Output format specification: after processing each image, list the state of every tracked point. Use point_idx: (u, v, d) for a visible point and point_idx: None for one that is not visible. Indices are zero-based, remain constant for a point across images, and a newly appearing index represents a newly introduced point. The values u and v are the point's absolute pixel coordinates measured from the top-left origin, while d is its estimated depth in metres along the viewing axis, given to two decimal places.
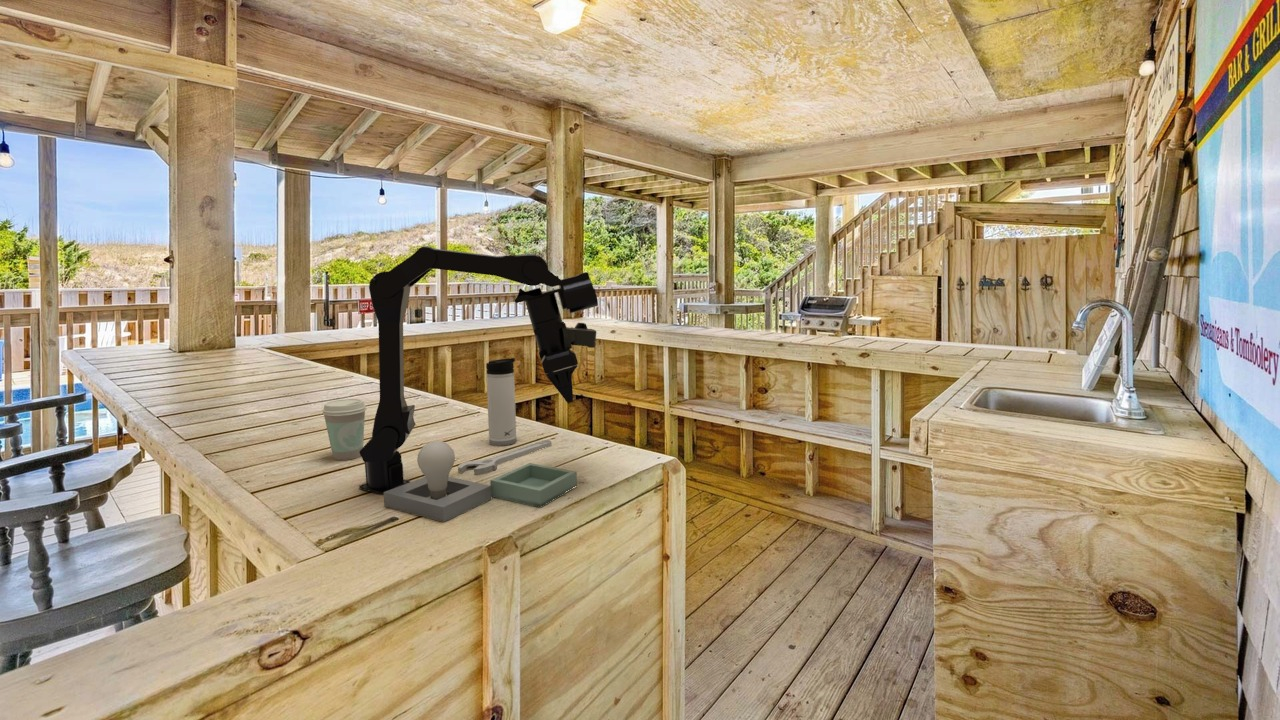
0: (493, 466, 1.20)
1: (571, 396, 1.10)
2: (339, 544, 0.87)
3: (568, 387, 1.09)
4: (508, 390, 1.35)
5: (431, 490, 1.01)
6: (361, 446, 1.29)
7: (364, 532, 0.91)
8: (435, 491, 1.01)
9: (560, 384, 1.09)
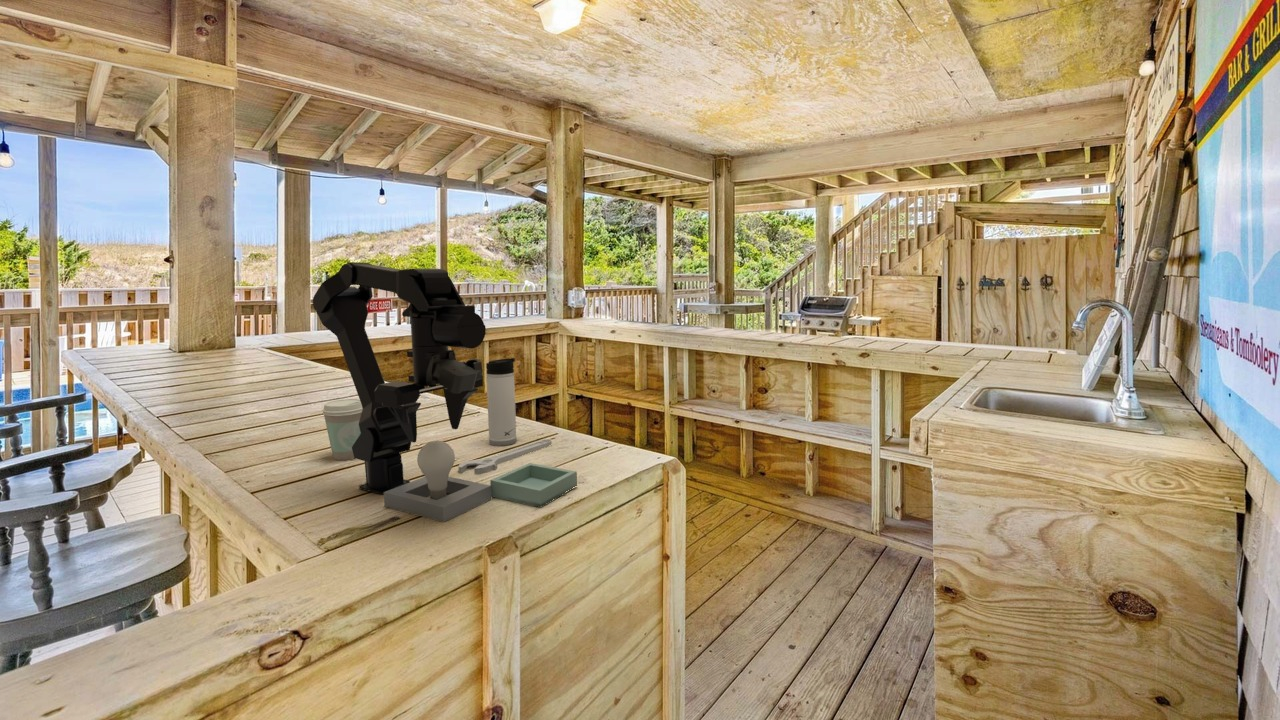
0: (493, 465, 1.20)
1: (412, 436, 0.96)
2: (341, 543, 0.87)
3: (408, 425, 0.96)
4: (508, 390, 1.35)
5: (431, 490, 1.01)
6: None
7: (366, 531, 0.91)
8: (435, 491, 1.01)
9: (401, 419, 0.96)
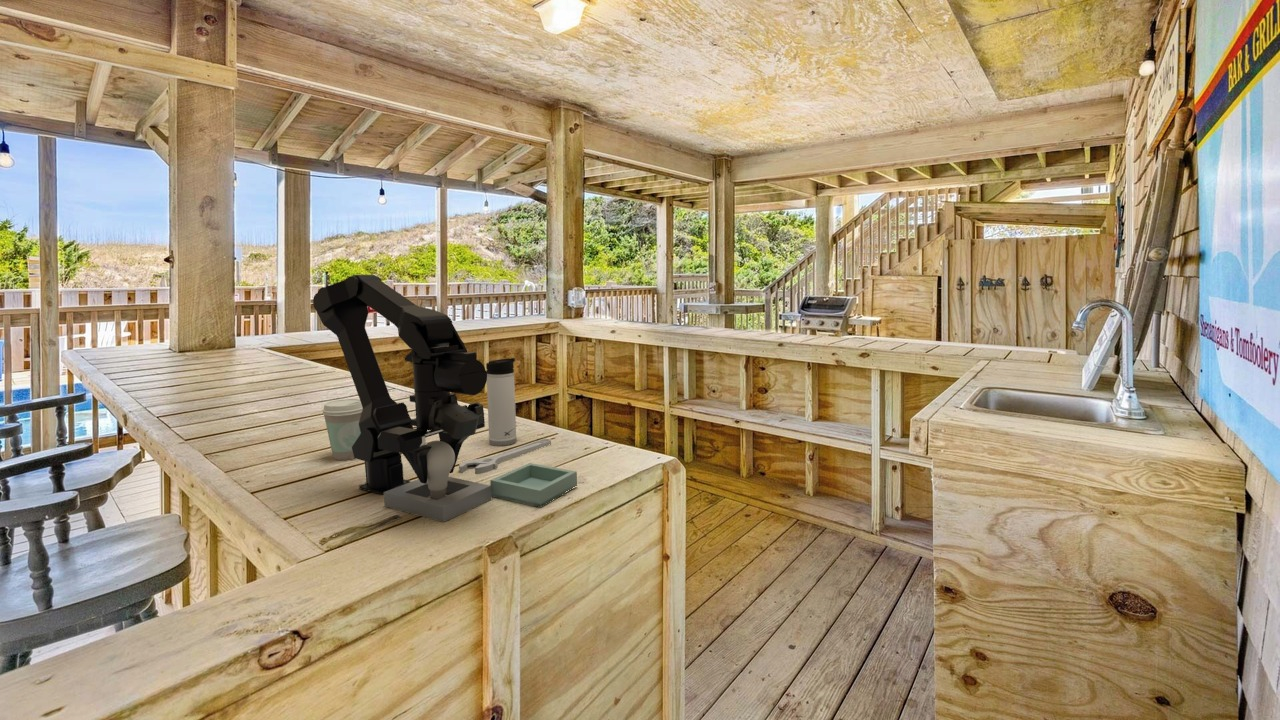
0: (494, 465, 1.20)
1: (423, 477, 0.99)
2: (344, 542, 0.87)
3: (419, 467, 0.98)
4: (508, 390, 1.35)
5: (431, 490, 1.01)
6: None
7: (368, 530, 0.91)
8: (435, 491, 1.01)
9: (412, 461, 0.98)
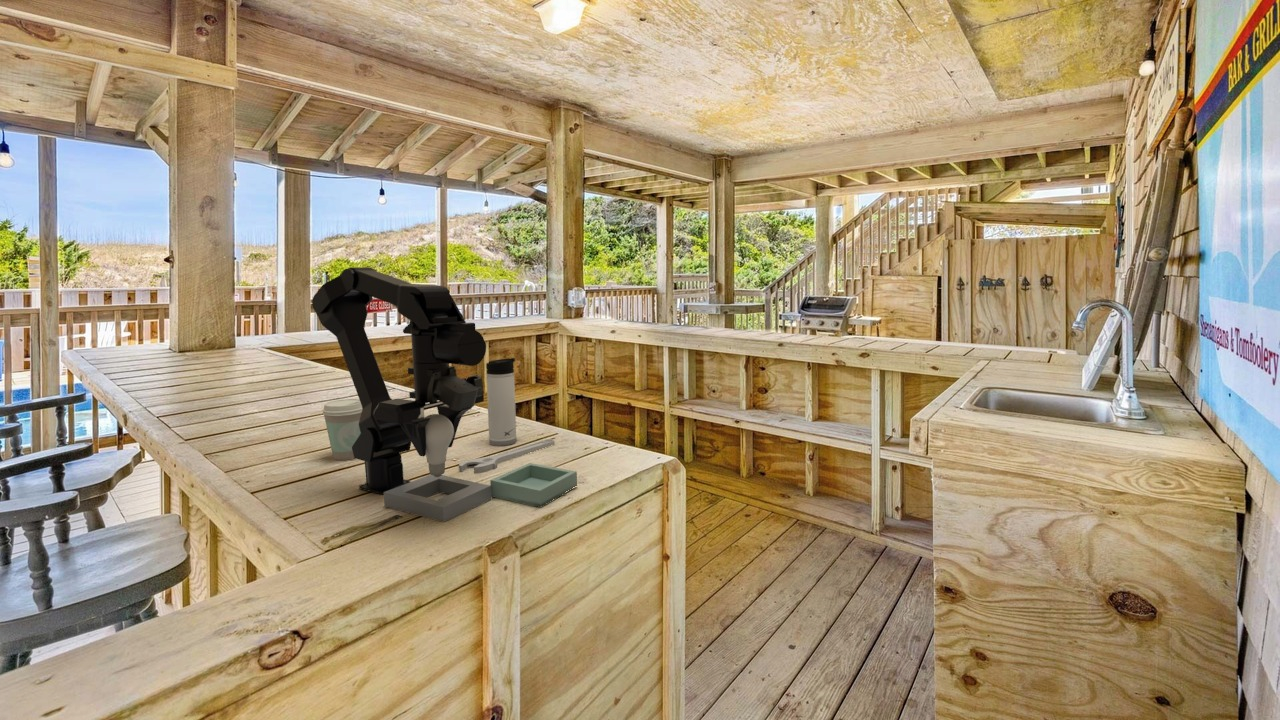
0: (493, 464, 1.21)
1: (421, 450, 0.98)
2: (345, 541, 0.87)
3: (417, 440, 0.97)
4: (508, 390, 1.35)
5: (430, 463, 1.01)
6: None
7: (369, 530, 0.92)
8: (434, 464, 1.00)
9: (411, 433, 0.98)
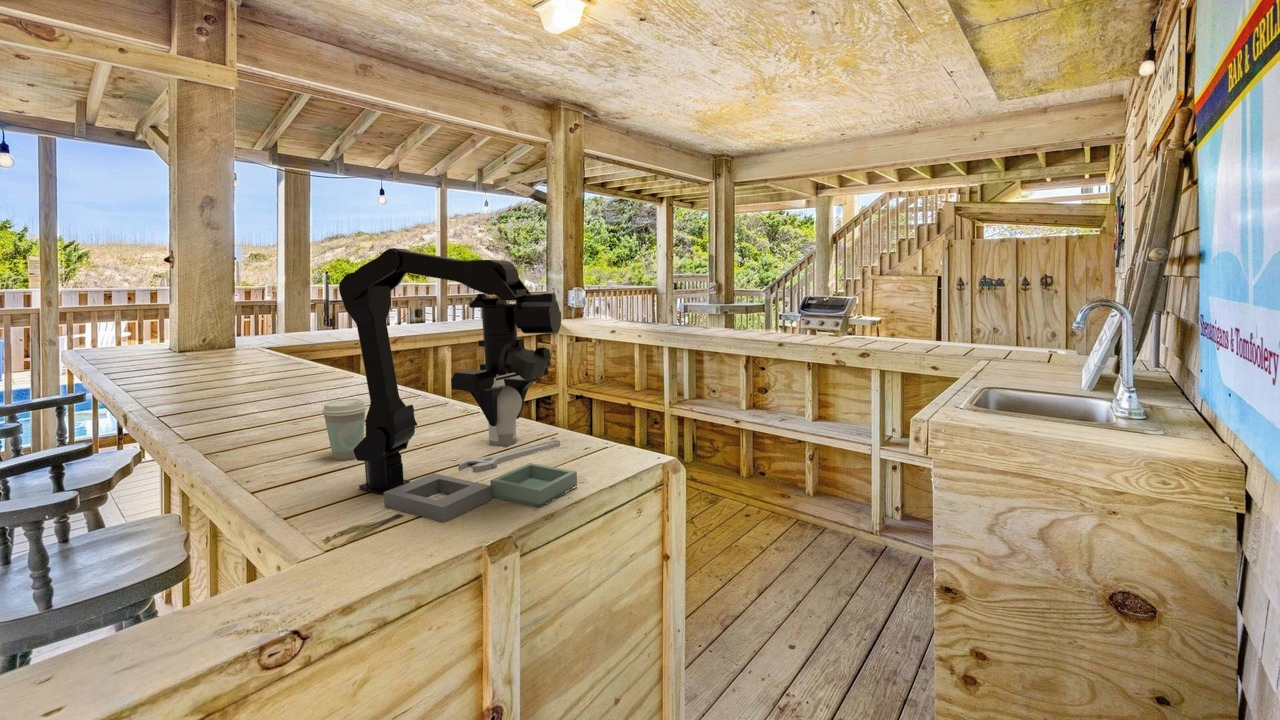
0: (492, 464, 1.21)
1: (493, 420, 1.01)
2: (348, 541, 0.88)
3: (489, 410, 1.00)
4: None
5: (499, 434, 1.03)
6: None
7: (371, 529, 0.92)
8: (503, 434, 1.03)
9: (483, 404, 1.01)
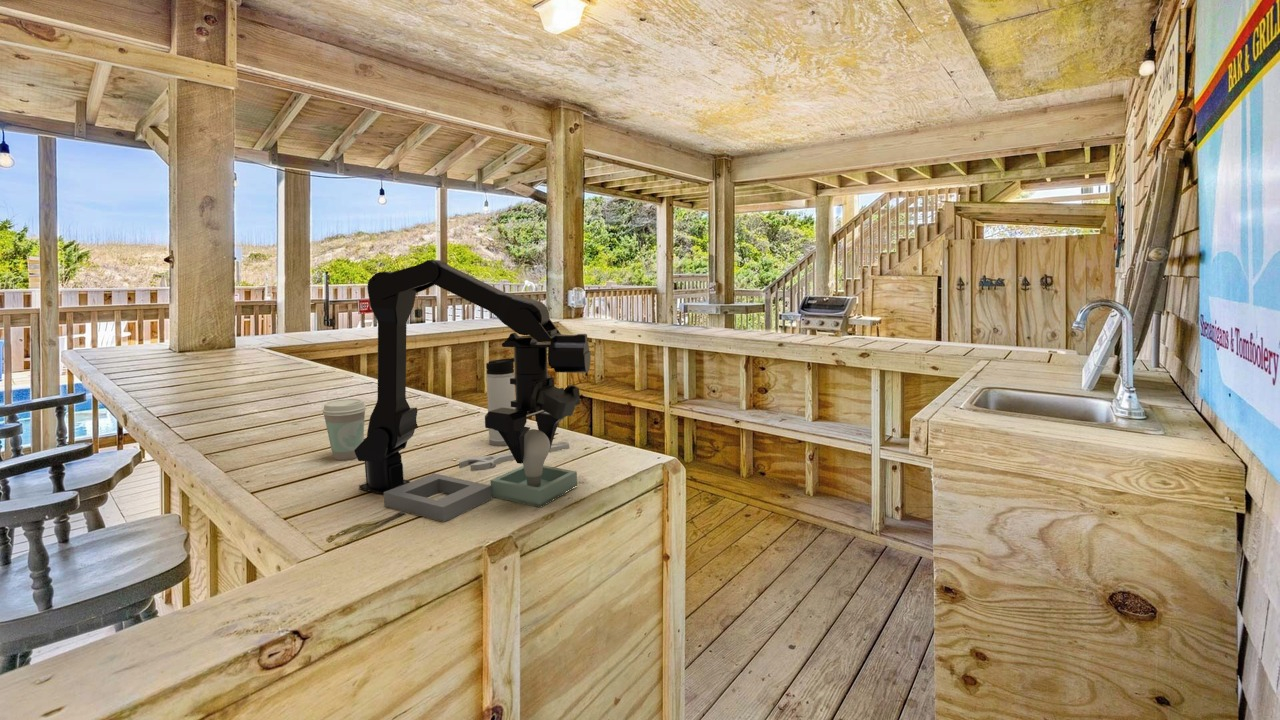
0: (491, 464, 1.21)
1: (519, 458, 1.03)
2: (351, 539, 0.88)
3: (517, 448, 1.02)
4: (508, 390, 1.35)
5: (528, 476, 1.06)
6: None
7: (374, 527, 0.92)
8: (532, 477, 1.06)
9: (510, 442, 1.02)
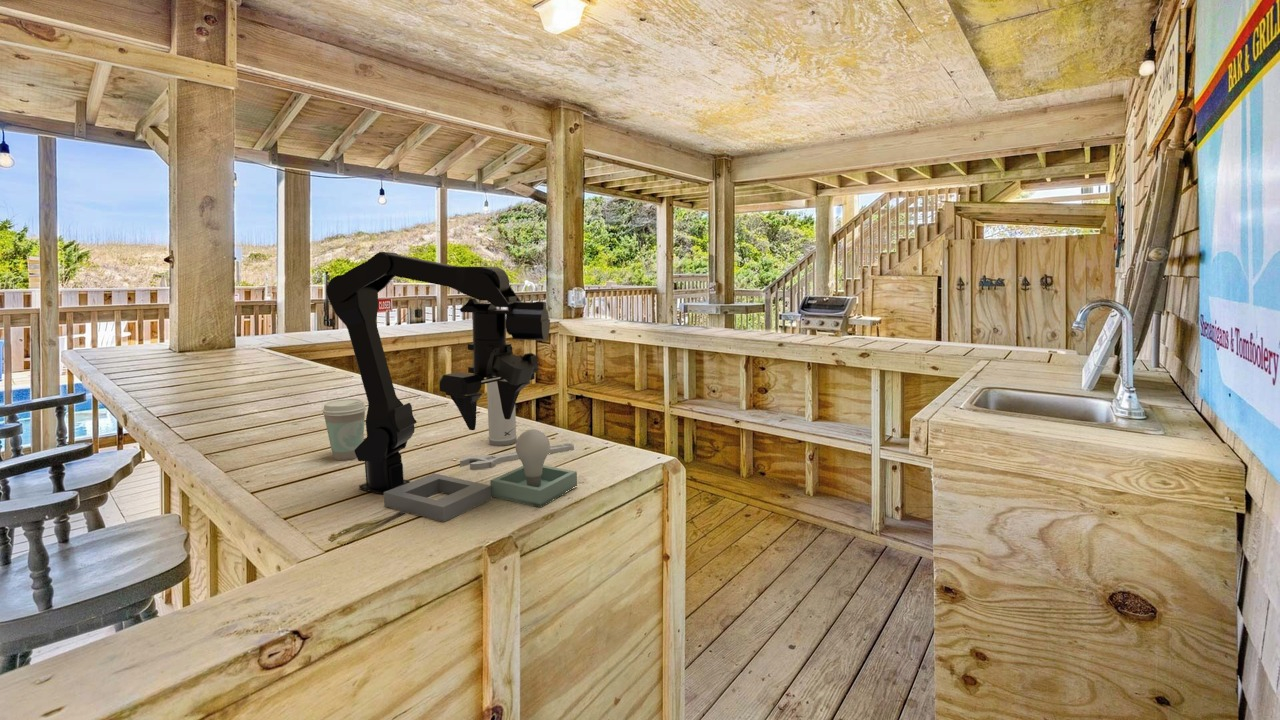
0: (490, 463, 1.21)
1: (471, 424, 1.02)
2: (353, 538, 0.89)
3: (468, 414, 1.01)
4: None
5: (528, 476, 1.06)
6: None
7: (375, 526, 0.93)
8: (532, 477, 1.06)
9: (462, 408, 1.02)
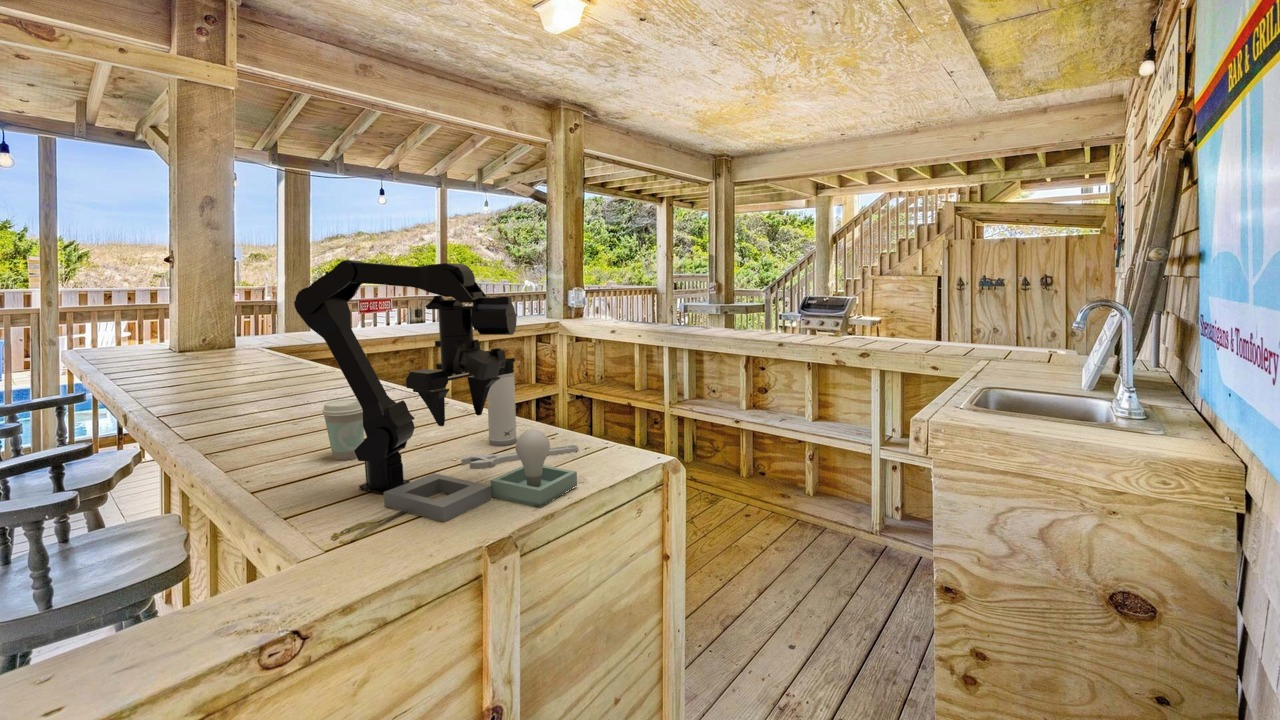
0: (490, 463, 1.22)
1: (440, 420, 1.03)
2: (356, 537, 0.89)
3: (437, 410, 1.02)
4: (508, 390, 1.35)
5: (528, 476, 1.06)
6: None
7: (377, 525, 0.93)
8: (532, 477, 1.06)
9: (430, 404, 1.02)
